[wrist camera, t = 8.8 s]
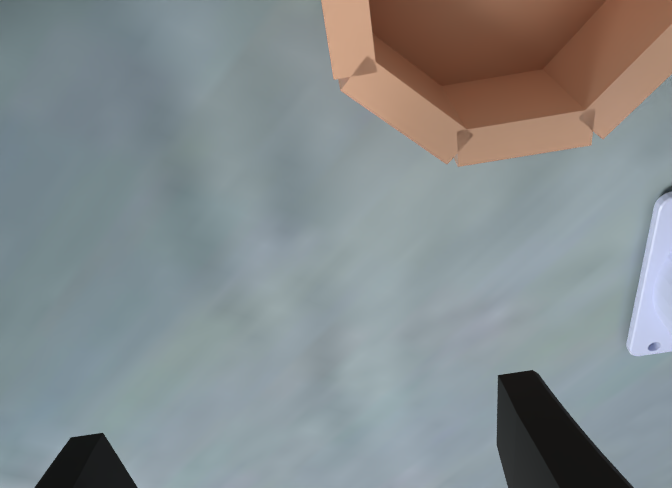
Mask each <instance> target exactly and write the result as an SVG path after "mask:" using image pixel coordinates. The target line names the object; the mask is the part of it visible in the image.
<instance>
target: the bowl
mask: <svg viewBox="0 0 672 488" xmlns="http://www.w3.org/2000/svg"><path fill="white" fill-rule="evenodd" d="M321 2H322V8H323V14H324V21H325V27H326V33H327V40H328V46H329V52H330V59H331V65H332V71H333V78H334V80H335V79H339V85H340V91H342V92H343V93H345V94H346V95H348V96H349V97H351V98H352V99H353V100H355V101H356V102H358V103H359V104H361V105H362V106H363V107H365V108H366V109H368V110H369V111H371V112H372V113H374V114H375V115H376V116H378V117H379V118H381V119H382V120H384V121H385V122H386V123H388V124H389V125H391V126H392V127H394V128H395V129H397V130H398V131H399V132H401V133H402V134H404V135H405V136H407V137H408V138H409V139H411V140H412V141H414V142H415V143H417V144H418V145H420V146H421V147H422V148H424V149H425V150H427V151H428V152H430V153H431V154H432V155H434V156H435V157H437V158H438V159H440V160H441V161H443V162H444V163H445V164H448V163H449V162H450V161H451V160H452V159H453V158H454V159H455V161H456V164H457V166H458V167H460V166H466V165H472V164H478V163H485V162H491V161H497V160H503V159H509V158H516V157H522V156H528V155H534V154H540V153H546V152H553V151H559V150H565V149H571V148H577V147H584V146H590V145H591V143H592V135H593V132H595V133H596V134H597V135H598V136H599V137H601V138H602V139H604V138H605V137H606V136H607V135H608V134H609V133H610V132H611V131H612V130H613V129H614V128H615V127H616V126H618V125H619V124H620V123H621V122H622V121H623V120H624V119H625V118H626V117H627V116H628V115H629V114H630V113H631V112H632V111H633V110H634V109H635V108H636V107H638V106H639V105H640V104H641V103H642V102H643V101H644V100H645V99H646V98H647V97H648V96H649V95H650V94H651V93H652V92H653V91H654V90H655V89H656V88H658V87H659V86H660V85H661V84H662V83H663V82H664V81H665V80H666V79H667V78H668V77H669V76H670V75H671V74H672V0H321Z"/></svg>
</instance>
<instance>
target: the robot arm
mask: <svg viewBox="0 0 672 488" xmlns="http://www.w3.org/2000/svg"><path fill="white" fill-rule="evenodd" d="M626 346H627V349H628V350H629V352H630V353H631V354H632V355H635V356H643V355H649V354H656V353H663V352H670V351H672V192H668V193H665V194H664V195H662V196H661V197H660V198H659V199H658V200H657V201H656V203H655V205H654V210H653V215H652V220H651V225H650V230H649V235H648V239H647V244H646V249H645V254H644V259H643V264H642V269H641V274H640V279H639V284H638V289H637V294H636V299H635V304H634V309H633V314H632V319H631V324H630V329H629V333H628V338H627V343H626ZM497 448H498V451H499V455H500V459H501V463H502V466H503V470H504V474H505V478H506V481H507V485H508V488H633V486H632V485H631V484H630V483H629V482H628V481H627V480H626V479H625V478H624V477H623V475H622V474H621V473H620V472H619V471H618V470H617V469H616V468H615V467H614V466H613V464H612V463H611V462H610V461H609V460H608V459H607V458H606V457H605V456H604V455H603V453H602V452H601V451H600V450H599V449H598V448H597V447H596V445H595V444H594V443H593V442H592V441H591V440H590V438H589V437H588V436H587V435H586V434H585V432H584V431H583V430H582V429H581V428H580V426H579V425H578V424H577V423H576V422H575V421H574V419H573V418H572V417H571V416H570V414H569V413H568V412H567V411H566V409H565V408H564V407H563V406H562V404H561V403H560V402H559V401H558V399H557V398H556V397H555V395H554V394H553V393H552V392H551V390H550V389H549V388H548V386H547V385H546V384H545V382H544V381H543V380H542V378H541V377H540V375H539V374H538V373H536V372H535V371H533V370H530V371H524V372H517V373H510V374H503V375H498V404H497ZM35 488H137V486H136V484H135V483H134V481H133V480H132V478H131V477H130V475H129V473H128V472H127V470H126V469H125V467H124V465H123V464H122V462H121V461H120V459H119V457H118V456H117V454H116V453H115V451H114V449H113V448H112V446H111V445H110V443H109V442H108V440H107V438H106V437H105V435H104V434H103V433H99V434H92V435H85V436H78V437H71V438H70V439H69V441H68V442H67V444H66V445H65V446H64V448H63V449H62V450H61V452H60V453H59V454H58V456H57V457H56V458H55V460H54V461H53V463H52V464H51V465H50V467H49V468H48V470H47V471H46V472H45V474H44V475H43V477H42V478H41V479H40V481H39V482H38V484H37V485H36V486H35Z"/></svg>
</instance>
